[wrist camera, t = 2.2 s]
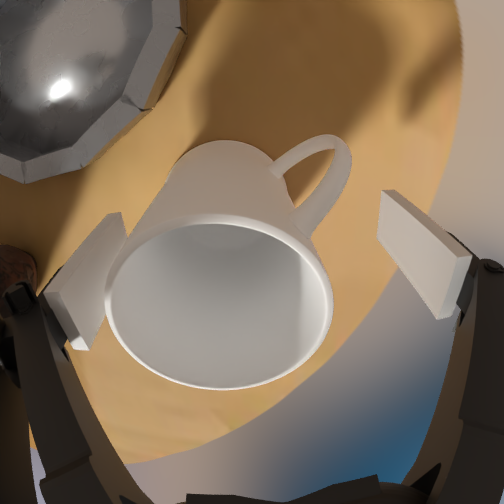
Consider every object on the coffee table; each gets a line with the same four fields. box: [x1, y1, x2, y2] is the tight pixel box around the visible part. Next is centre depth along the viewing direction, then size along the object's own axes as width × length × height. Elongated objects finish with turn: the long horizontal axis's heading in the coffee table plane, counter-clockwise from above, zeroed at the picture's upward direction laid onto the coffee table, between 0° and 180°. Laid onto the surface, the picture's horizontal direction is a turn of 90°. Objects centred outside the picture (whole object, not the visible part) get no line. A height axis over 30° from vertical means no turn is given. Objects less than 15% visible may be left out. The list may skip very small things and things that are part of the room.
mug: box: [104, 134, 352, 390], centre depth 15 cm, size 12×8×12 cm
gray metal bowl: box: [0, 0, 188, 184], centre depth 12 cm, size 19×19×3 cm
